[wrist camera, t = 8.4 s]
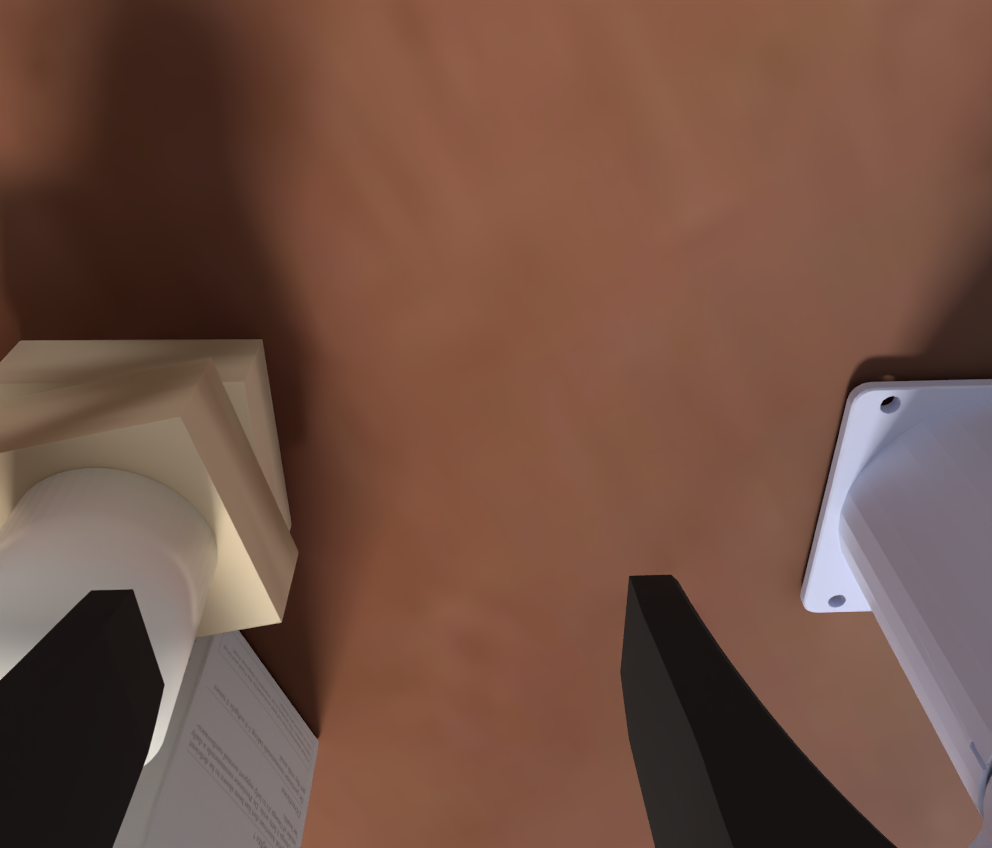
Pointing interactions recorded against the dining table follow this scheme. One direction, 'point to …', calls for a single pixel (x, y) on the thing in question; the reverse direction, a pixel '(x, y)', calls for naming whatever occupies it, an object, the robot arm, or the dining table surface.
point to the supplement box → (225, 760)
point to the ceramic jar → (106, 565)
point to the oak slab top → (165, 471)
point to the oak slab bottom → (95, 360)
